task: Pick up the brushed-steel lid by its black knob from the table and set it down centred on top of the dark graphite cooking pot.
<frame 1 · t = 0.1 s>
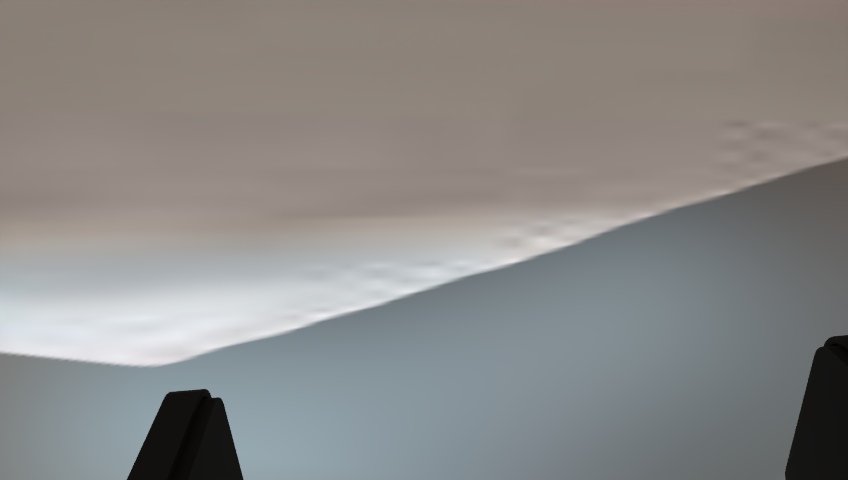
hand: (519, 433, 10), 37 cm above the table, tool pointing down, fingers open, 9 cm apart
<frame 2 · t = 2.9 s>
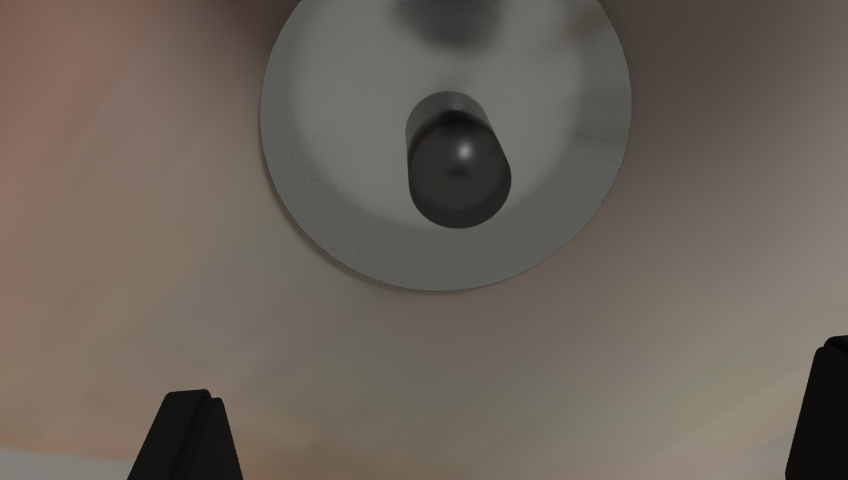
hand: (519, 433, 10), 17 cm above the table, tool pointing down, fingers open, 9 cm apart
lid: (445, 125, 26), on the table
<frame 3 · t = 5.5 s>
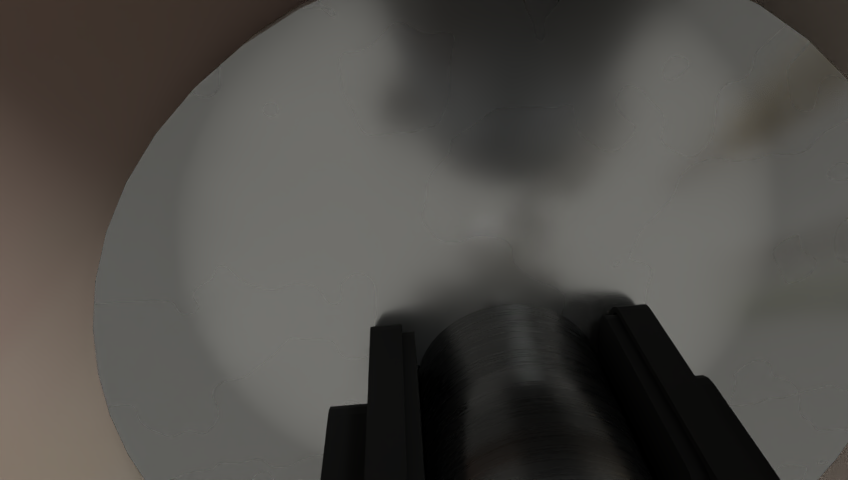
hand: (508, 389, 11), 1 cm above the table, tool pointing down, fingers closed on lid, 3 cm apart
lid: (498, 347, 12), on the table, touching gripper
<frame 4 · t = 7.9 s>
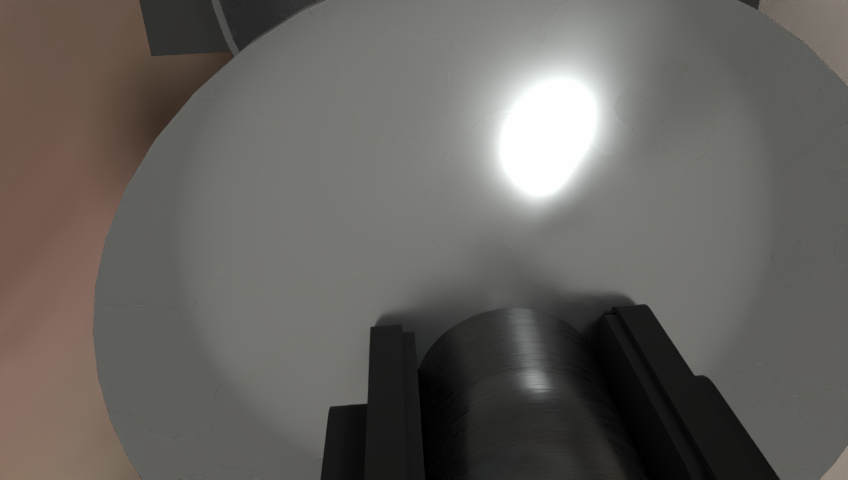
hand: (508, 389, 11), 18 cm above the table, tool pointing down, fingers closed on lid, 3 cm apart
lid: (498, 350, 12), point 17 cm above the table, touching gripper
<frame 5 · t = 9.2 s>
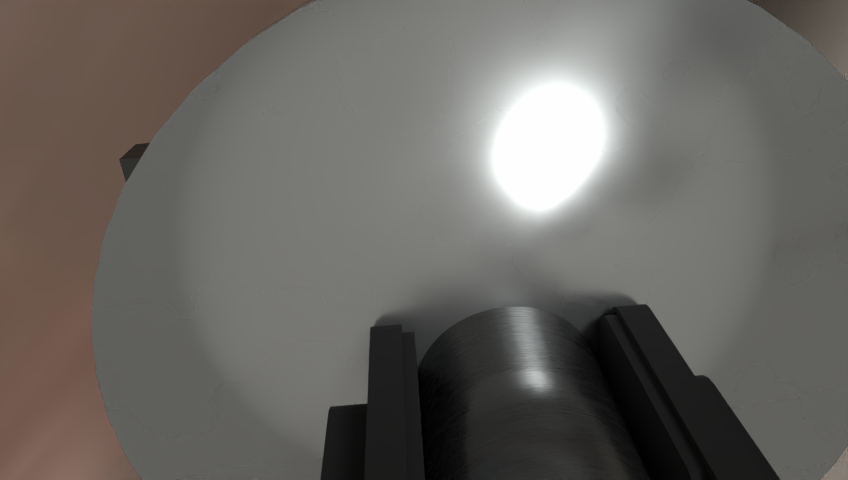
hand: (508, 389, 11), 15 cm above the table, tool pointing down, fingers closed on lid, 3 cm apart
pot: (447, 125, 25), on the table
lid: (498, 349, 12), point 14 cm above the table, touching gripper
when the fingers open (12 cm above the table, at t = 10.4 s): lid drops 1 cm, resting on pot.
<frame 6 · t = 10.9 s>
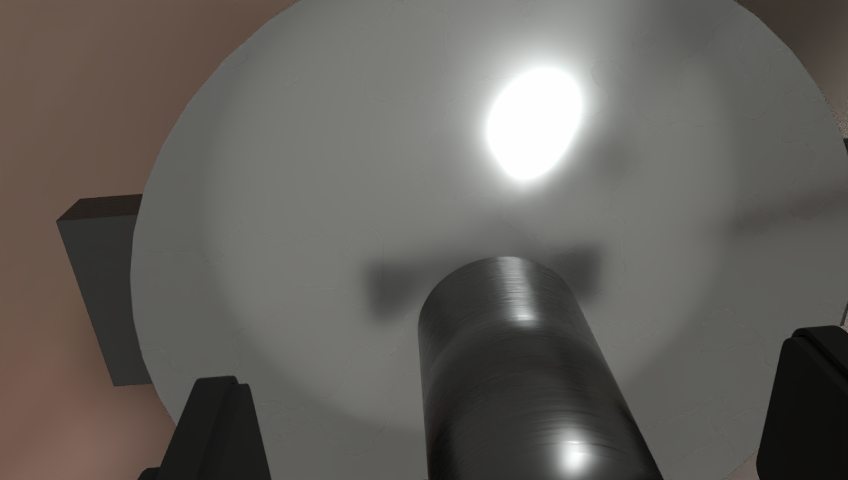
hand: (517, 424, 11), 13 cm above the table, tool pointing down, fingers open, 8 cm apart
pot: (450, 161, 22), on the table
lid: (491, 301, 14), point 9 cm above the table, touching pot
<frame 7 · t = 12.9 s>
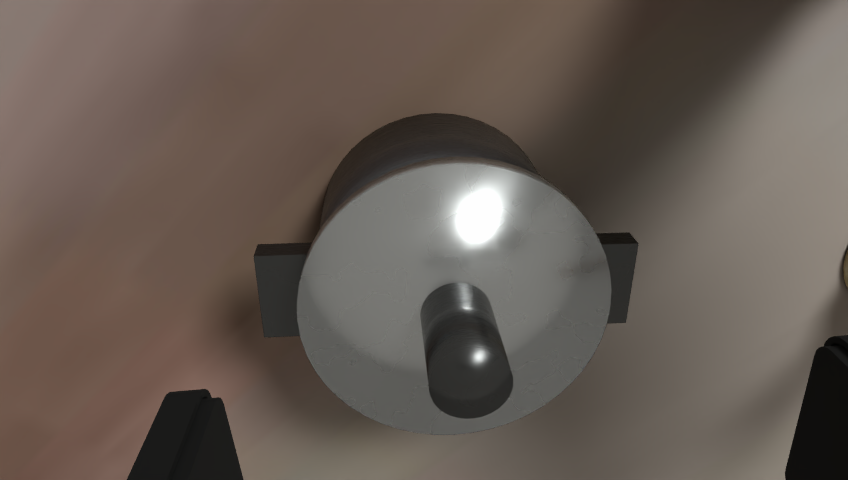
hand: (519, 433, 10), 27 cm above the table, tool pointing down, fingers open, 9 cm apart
pot: (434, 223, 38), on the table
lid: (453, 302, 30), point 9 cm above the table, touching pot
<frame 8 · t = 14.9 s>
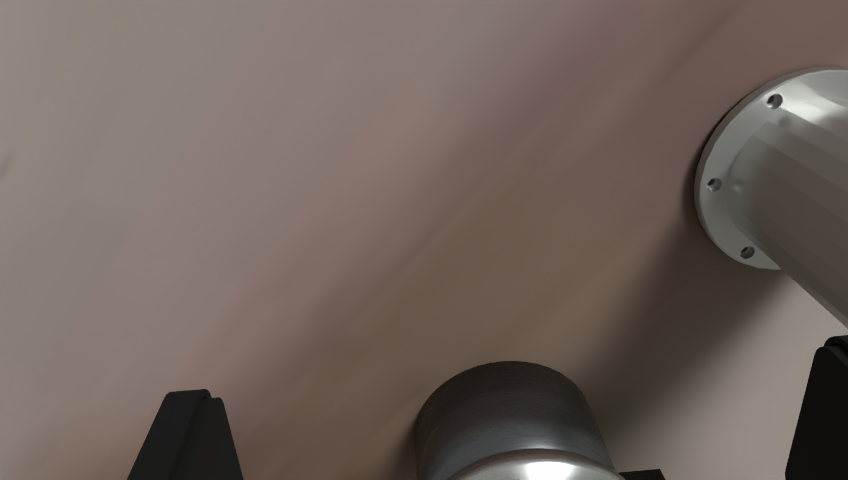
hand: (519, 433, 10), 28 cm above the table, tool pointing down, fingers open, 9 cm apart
pot: (503, 433, 48), on the table
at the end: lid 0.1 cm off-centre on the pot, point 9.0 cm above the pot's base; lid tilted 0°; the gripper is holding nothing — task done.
